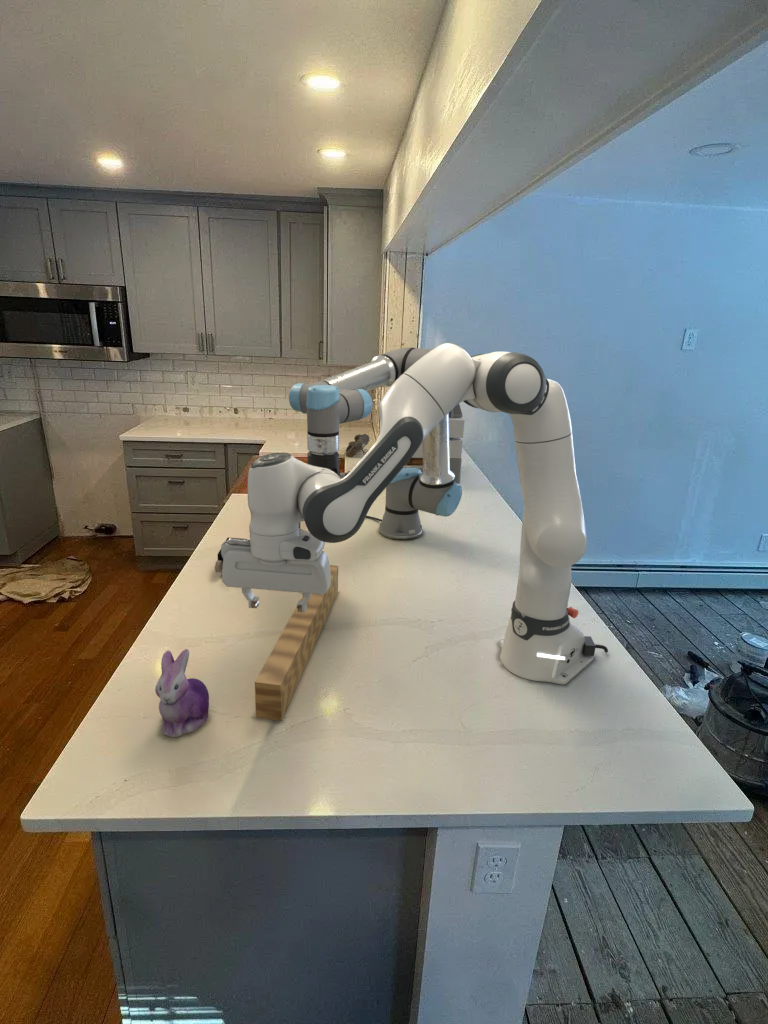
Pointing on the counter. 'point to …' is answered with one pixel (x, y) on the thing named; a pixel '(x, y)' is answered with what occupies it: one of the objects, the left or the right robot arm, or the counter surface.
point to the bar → (292, 654)
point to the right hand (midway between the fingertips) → (277, 608)
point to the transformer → (454, 444)
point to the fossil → (357, 445)
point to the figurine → (180, 697)
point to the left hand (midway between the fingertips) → (323, 533)
